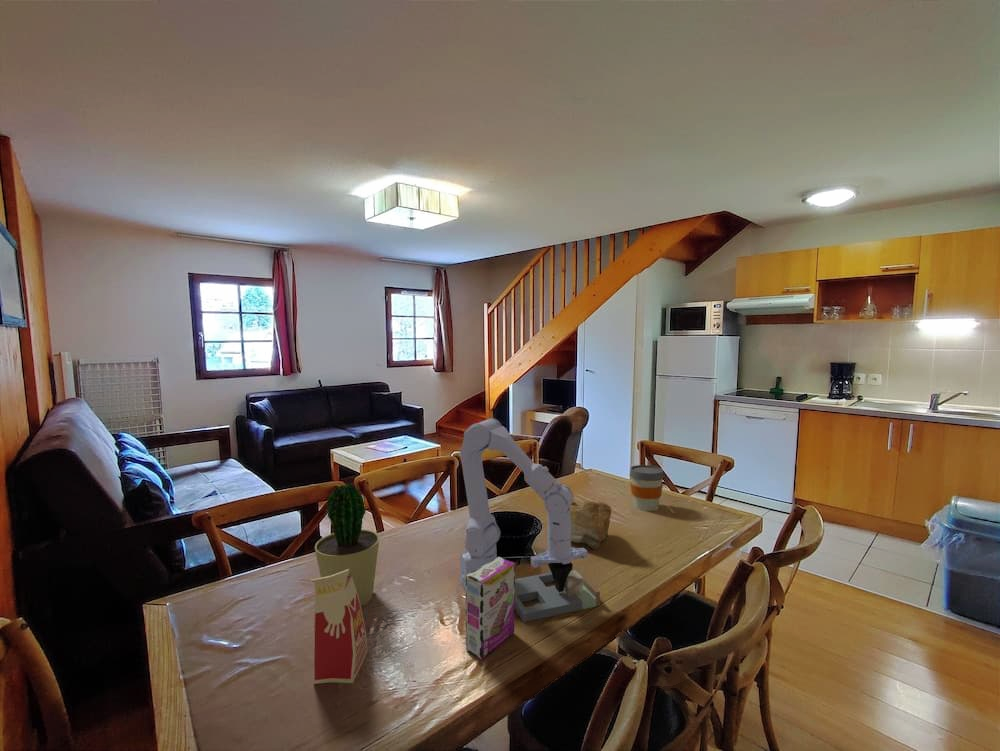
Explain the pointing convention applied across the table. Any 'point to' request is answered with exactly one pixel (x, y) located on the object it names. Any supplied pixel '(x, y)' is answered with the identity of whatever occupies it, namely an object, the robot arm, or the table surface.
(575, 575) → the block
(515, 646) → the table surface
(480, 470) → the robot arm
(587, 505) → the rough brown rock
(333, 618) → the milk carton
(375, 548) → the potted cactus
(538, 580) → the board
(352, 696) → the table surface
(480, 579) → the candy bar box
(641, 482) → the reusable coffee cup
